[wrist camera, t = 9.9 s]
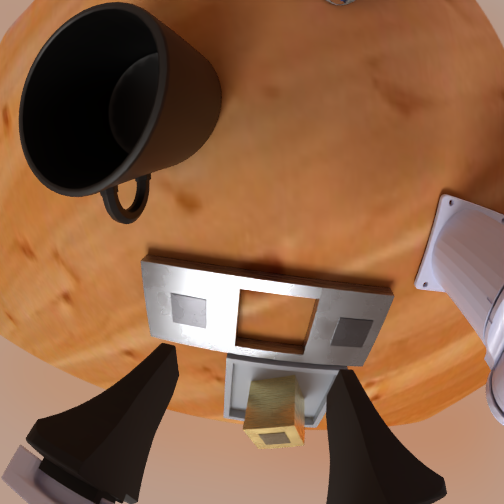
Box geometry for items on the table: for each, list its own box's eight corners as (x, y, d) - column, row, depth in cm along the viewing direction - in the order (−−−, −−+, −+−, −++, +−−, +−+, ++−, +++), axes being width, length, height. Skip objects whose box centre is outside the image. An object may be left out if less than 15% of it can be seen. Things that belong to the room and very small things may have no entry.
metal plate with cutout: (389, 288, 20) (394, 296, 19) (360, 357, 23) (362, 366, 22) (147, 254, 21) (140, 261, 20) (155, 328, 25) (150, 336, 23)
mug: (113, 203, 20) (34, 247, 12) (108, 62, 15) (24, 45, 7) (224, 201, 19) (177, 256, 11) (223, 37, 14) (175, -25, 6)
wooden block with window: (295, 374, 24) (294, 426, 19) (304, 399, 26) (304, 445, 20) (250, 381, 25) (242, 430, 20) (264, 404, 27) (258, 449, 22)
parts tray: (345, 359, 23) (347, 371, 22) (316, 417, 28) (316, 427, 27) (229, 346, 24) (226, 357, 23) (225, 408, 29) (223, 417, 28)
